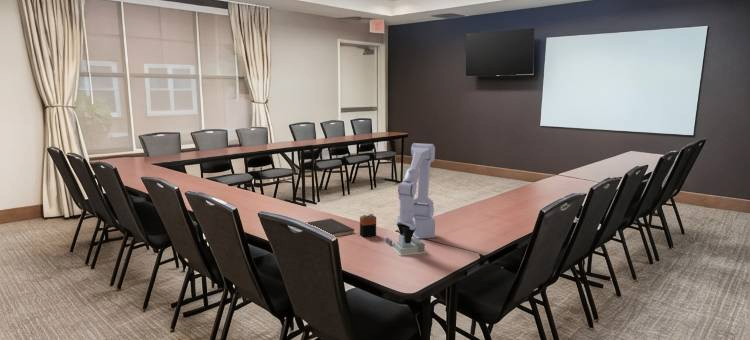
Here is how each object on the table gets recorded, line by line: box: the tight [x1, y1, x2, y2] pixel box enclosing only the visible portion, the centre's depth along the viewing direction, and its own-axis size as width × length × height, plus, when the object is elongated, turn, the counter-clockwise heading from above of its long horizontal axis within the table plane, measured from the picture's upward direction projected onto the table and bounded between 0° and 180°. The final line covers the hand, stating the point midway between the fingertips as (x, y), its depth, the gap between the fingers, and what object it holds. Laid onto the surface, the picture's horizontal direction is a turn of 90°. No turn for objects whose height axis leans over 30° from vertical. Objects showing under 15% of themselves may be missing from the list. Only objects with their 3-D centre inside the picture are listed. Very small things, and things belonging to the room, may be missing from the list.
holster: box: [385, 237, 393, 246], centre depth 202 cm, size 8×5×2 cm, turn 108°
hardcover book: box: [306, 218, 355, 237], centre depth 220 cm, size 16×23×2 cm
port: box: [391, 237, 428, 257], centre depth 192 cm, size 12×10×4 cm
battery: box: [359, 213, 377, 238], centre depth 211 cm, size 4×7×10 cm, turn 116°
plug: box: [398, 233, 411, 248], centre depth 191 cm, size 4×4×6 cm
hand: (405, 241), depth 191 cm, fingers closed on plug, 4 cm apart
